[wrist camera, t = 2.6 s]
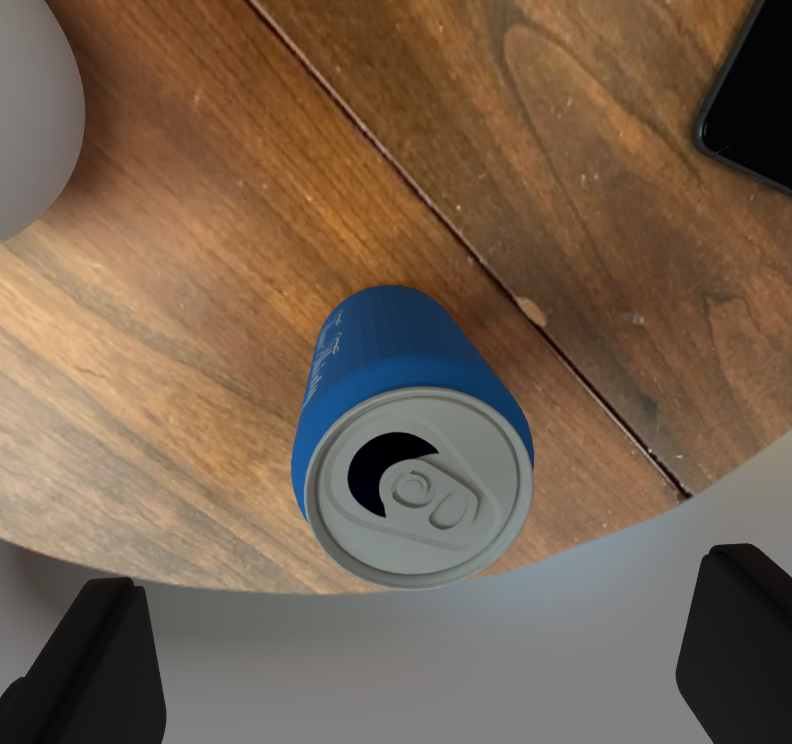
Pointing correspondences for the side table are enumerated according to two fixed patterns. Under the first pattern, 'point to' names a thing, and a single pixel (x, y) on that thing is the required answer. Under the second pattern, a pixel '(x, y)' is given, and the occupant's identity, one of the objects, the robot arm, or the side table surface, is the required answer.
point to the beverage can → (408, 446)
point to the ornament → (35, 113)
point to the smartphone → (753, 100)
